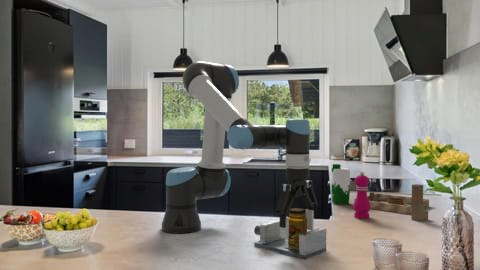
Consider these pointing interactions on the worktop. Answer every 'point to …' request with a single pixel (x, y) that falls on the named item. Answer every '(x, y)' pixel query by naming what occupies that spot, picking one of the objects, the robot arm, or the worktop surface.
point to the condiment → (296, 226)
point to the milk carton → (340, 184)
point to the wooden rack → (391, 200)
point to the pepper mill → (361, 197)
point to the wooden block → (418, 203)
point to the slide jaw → (268, 231)
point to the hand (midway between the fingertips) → (297, 233)
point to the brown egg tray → (393, 206)
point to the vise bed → (283, 250)
